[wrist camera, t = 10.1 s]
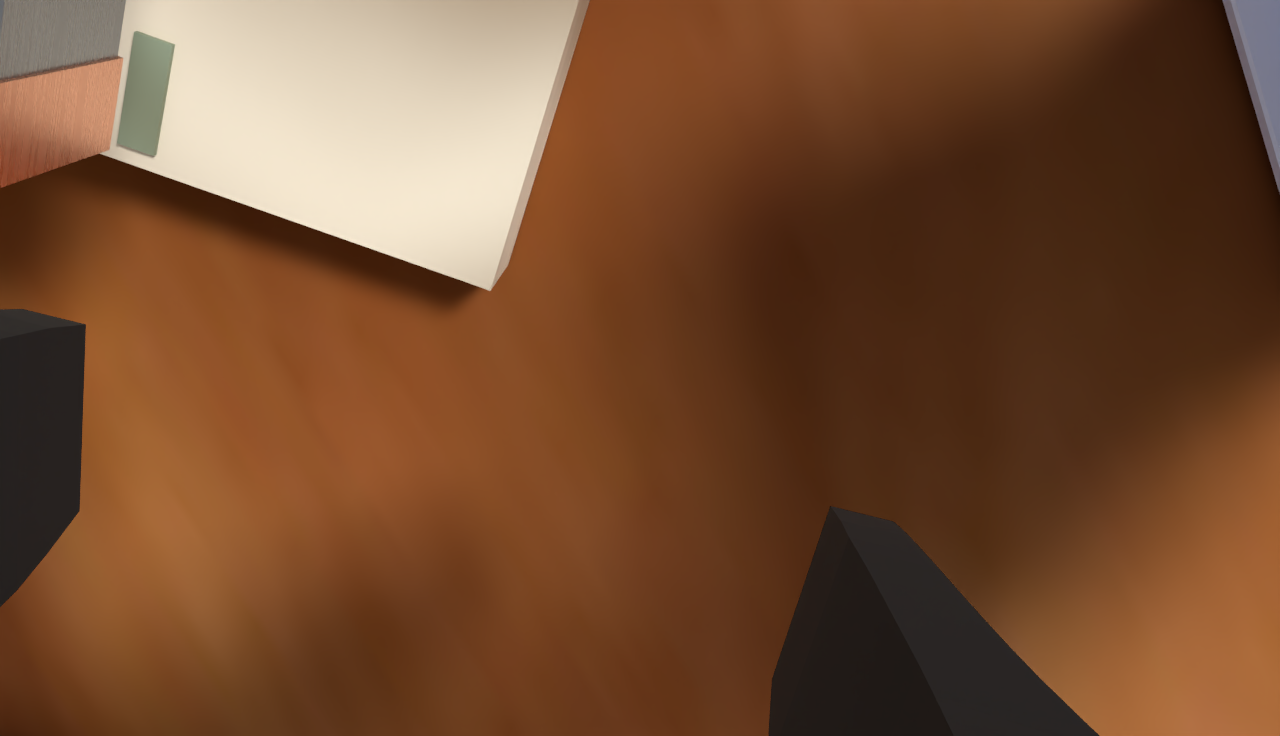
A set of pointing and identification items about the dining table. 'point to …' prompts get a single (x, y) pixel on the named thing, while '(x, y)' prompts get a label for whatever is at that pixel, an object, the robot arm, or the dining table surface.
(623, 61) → the dining table surface
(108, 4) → the dark rectangular block
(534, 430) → the dining table surface
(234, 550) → the dining table surface
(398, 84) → the base plate
